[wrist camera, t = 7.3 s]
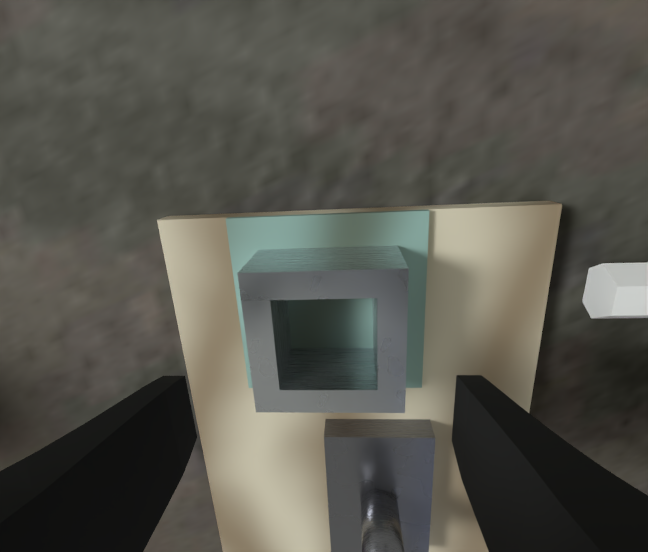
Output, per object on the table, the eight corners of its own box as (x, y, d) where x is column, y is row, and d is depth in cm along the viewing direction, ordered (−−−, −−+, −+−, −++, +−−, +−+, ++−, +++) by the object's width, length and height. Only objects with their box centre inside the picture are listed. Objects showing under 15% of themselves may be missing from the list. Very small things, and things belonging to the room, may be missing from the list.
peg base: (429, 419, 17) (458, 516, 13) (423, 539, 20) (445, 655, 15) (325, 418, 18) (316, 512, 13) (332, 536, 20) (327, 649, 16)
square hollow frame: (397, 245, 15) (408, 268, 12) (395, 367, 16) (405, 412, 14) (258, 249, 15) (237, 273, 12) (272, 367, 17) (256, 412, 14)
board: (548, 200, 15) (566, 205, 14) (498, 548, 21) (506, 573, 20) (168, 215, 16) (153, 221, 15) (229, 539, 23) (222, 562, 21)
